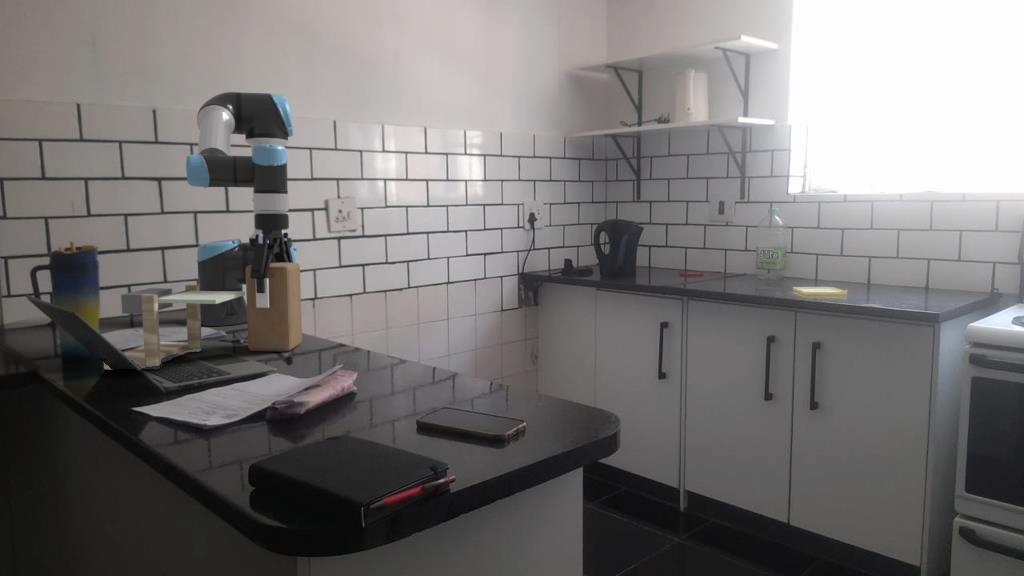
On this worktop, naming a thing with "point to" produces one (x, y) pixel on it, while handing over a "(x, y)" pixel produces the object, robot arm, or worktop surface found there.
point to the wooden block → (275, 310)
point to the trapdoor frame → (152, 345)
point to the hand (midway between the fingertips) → (274, 303)
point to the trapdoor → (174, 298)
